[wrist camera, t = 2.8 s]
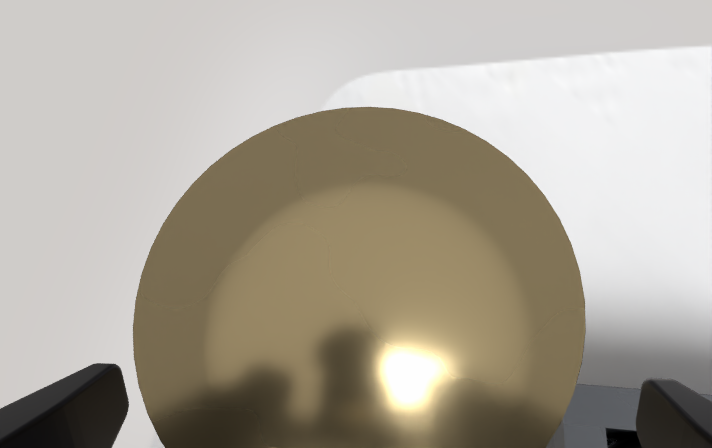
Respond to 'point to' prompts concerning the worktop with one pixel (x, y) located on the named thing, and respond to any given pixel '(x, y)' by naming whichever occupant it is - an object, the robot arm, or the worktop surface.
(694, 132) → the worktop surface
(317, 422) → the brass flanged cylinder
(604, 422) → the jig
